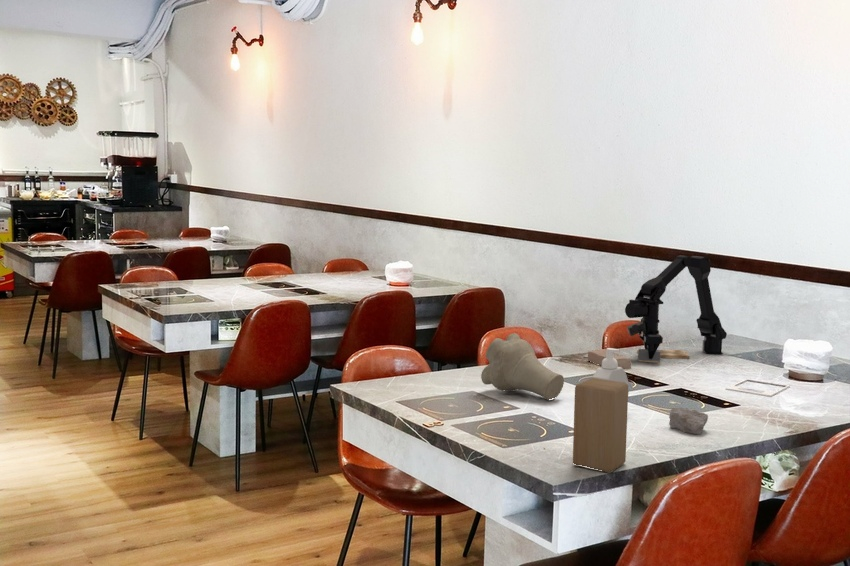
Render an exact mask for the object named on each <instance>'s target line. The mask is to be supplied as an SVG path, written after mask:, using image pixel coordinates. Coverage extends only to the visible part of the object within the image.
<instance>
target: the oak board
mask: <svg viewBox="0 0 850 566" xmlns="http://www.w3.org/2000/svg"><path fill="white" fill-rule="evenodd" d="M638 349H639V348H637V349H636V353H637V354H638ZM659 350H660V359H673V360H674V359H677V360H680V359H682V360H683V359H684V360H690V355H689V354H688V353H687V352H686V351H685V350H683V349H659Z"/></svg>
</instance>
